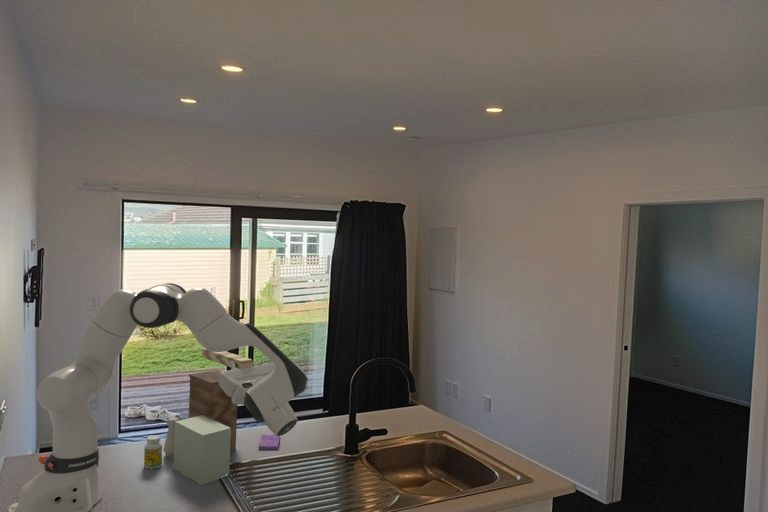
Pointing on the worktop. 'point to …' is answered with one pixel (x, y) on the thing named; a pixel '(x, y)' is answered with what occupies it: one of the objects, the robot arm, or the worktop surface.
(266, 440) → the sponges
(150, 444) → the supplement bottle
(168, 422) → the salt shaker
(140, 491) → the worktop surface
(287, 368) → the robot arm
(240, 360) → the beech bar
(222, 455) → the pale green block
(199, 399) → the walnut block
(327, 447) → the worktop surface
